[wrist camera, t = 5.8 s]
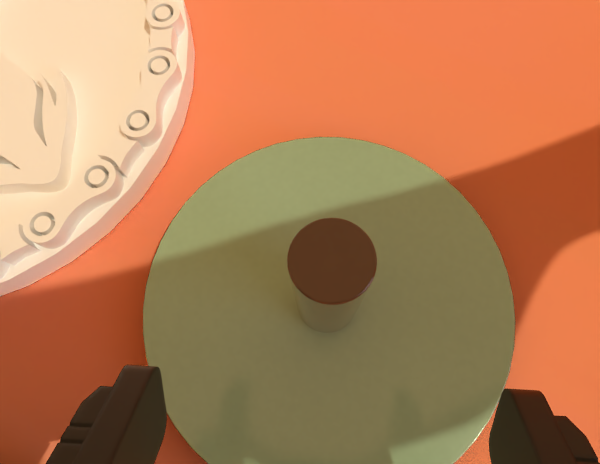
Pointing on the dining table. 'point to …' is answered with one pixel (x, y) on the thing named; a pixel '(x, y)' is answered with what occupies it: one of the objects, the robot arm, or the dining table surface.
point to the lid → (329, 311)
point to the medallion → (83, 121)
